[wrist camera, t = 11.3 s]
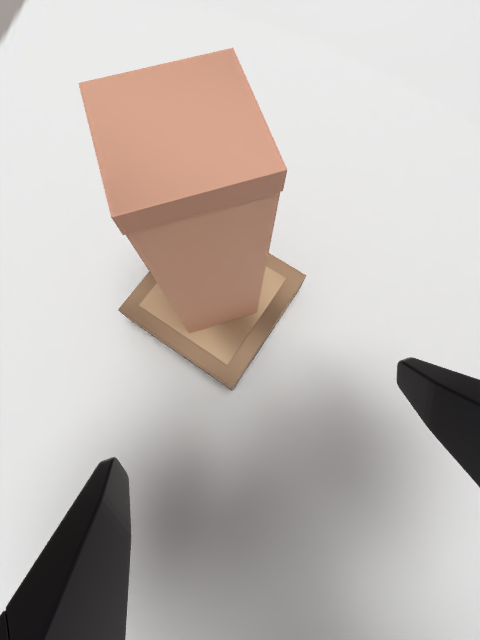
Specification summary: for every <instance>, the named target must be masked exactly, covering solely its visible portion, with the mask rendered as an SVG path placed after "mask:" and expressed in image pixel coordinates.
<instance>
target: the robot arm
mask: <svg viewBox="0 0 480 640" xmlns="http://www.w3.org/2000/svg"><path fill="white" fill-rule="evenodd" d="M397 384H398V386H399V388H400V389H401V391H402V392H403V394H404V395H405V396H406V398H407V399H408V401H409V402H410V403H411V405H412V406H413V408H414V409H415V410H416V412H417V413H418V415H419V416H420V417H421V419H422V420H423V422H424V423H425V424H426V426H427V427H428V428H429V429H430V431H431V432H432V433H433V434H434V435H435V437H436V438H437V439H438V440H439V441H440V442H441V443H442V445H443V446H444V447H445V448H446V449H447V450H448V451H449V453H450V454H451V455H452V456H453V457H454V458H455V459H456V461H457V462H458V463H459V464H460V465H461V466H462V467H463V469H464V470H465V471H466V472H467V473H468V474H469V475H470V477H471V478H472V479H473V480H474V481H475V482H476V483H477V485H478V486H479V487H480V380H479V379H476V378H473V377H470V376H467V375H464V374H461V373H458V372H455V371H452V370H449V369H446V368H443V367H440V366H437V365H434V364H431V363H428V362H425V361H422V360H419V359H416V358H411V357H410V358H406V359H404V360H401V361H399V362H398V365H397ZM130 550H131V518H130V496H129V479H128V475H127V473H126V471H125V470H124V468H123V467H122V465H121V464H120V462H119V461H118V459H117V458H115V457H113V458H110V459H107V460H104V461H101V462H100V463H99V464H98V466H97V467H96V469H95V471H94V472H93V474H92V475H91V477H90V478H89V480H88V481H87V483H86V484H85V486H84V487H83V489H82V491H81V492H80V494H79V495H78V497H77V498H76V500H75V501H74V503H73V504H72V506H71V508H70V509H69V511H68V512H67V514H66V515H65V517H64V518H63V520H62V521H61V523H60V524H59V526H58V528H57V529H56V531H55V532H54V534H53V535H52V537H51V538H50V540H49V541H48V543H47V545H46V546H45V548H44V549H43V551H42V552H41V554H40V555H39V557H38V558H37V560H36V561H35V563H34V565H33V566H32V568H31V569H30V571H29V572H28V574H27V575H26V577H25V578H24V580H23V582H22V583H21V585H20V586H19V588H18V589H17V591H16V592H15V594H14V595H13V597H12V598H11V600H10V602H9V603H8V605H7V606H6V611H3V612H2V614H1V615H0V640H125V635H126V618H127V601H128V584H129V567H130Z"/></svg>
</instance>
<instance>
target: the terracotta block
mask: <svg viewBox="0 0 480 640" xmlns="http://www.w3.org/2000/svg"><path fill="white" fill-rule="evenodd" d="M79 87H80V91H81V95H82V99H83V103H84V107H85V111H86V115H87V120H88V124H89V128H90V132H91V136H92V140H93V144H94V148H95V152H96V156H97V161H98V165H99V169H100V173H101V177H102V181H103V185H104V189H105V193H106V197H107V202H108V206H109V210H110V214H111V218H112V219H113V221H114V222H115V224H116V225H117V227H118V228H119V230H120V231H121V233H122V234H123V235H125V234H126V236H127V237H128V239H129V241H130V242H131V244H132V245H133V247H134V248H135V250H136V251H137V253H138V254H139V256H140V257H141V259H142V261H143V262H144V264H145V265H146V267H147V268H148V270H149V271H150V273H151V274H152V276H153V277H154V279H155V281H156V282H157V284H158V285H159V287H160V288H161V290H162V291H163V293H164V294H165V296H166V297H167V299H168V300H169V302H170V304H171V305H172V307H173V308H174V310H175V311H176V313H177V314H178V316H179V317H180V319H181V320H182V322H183V324H184V325H185V327H186V328H187V330H188V331H189V333H193V332H196V331H199V330H203V329H206V328H209V327H212V326H215V325H219V324H222V323H225V322H228V321H231V320H235V319H238V318H241V317H244V316H247V315H251V314H254V313H257V309H258V304H259V299H260V294H261V289H262V283H263V278H264V273H265V268H266V263H267V258H268V252H269V247H270V242H271V237H272V232H273V227H274V221H275V216H276V211H277V206H278V201H279V196H280V191H283V188H284V183H285V178H286V173H287V168H286V166H285V164H284V162H283V159H282V157H281V155H280V153H279V150H278V148H277V146H276V144H275V141H274V139H273V137H272V135H271V132H270V130H269V128H268V126H267V123H266V121H265V119H264V117H263V114H262V112H261V110H260V108H259V105H258V103H257V101H256V99H255V96H254V94H253V92H252V90H251V87H250V85H249V83H248V81H247V78H246V76H245V74H244V72H243V69H242V67H241V65H240V63H239V60H238V58H237V56H236V54H235V51H234V49H233V48H231V49H226V50H222V51H217V52H213V53H209V54H204V55H200V56H196V57H191V58H187V59H182V60H178V61H174V62H169V63H165V64H161V65H156V66H152V67H147V68H143V69H139V70H134V71H130V72H126V73H121V74H117V75H112V76H108V77H104V78H99V79H95V80H91V81H86V82H82V83H79Z"/></svg>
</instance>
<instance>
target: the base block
mask: <svg viewBox="0 0 480 640" xmlns="http://www.w3.org/2000/svg"><path fill="white" fill-rule="evenodd" d="M305 277H306V275H305V274H303V273H301V272H300V271H298V270H296V269H295V268H293V267H291V266H289V265H288V264H286V263H284V262H283V261H281V260H279V259H278V258H276V257H274V256H273V255H271V254H269V253H268V258H267V263H266V268H265V273H264V278H263V283H262V289H261V294H260V299H259V304H258V309H257V313H254V314H251V315H247V316H244V317H241V318H238V319H235V320H231V321H228V322H225V323H222V324H219V325H215V326H212V327H209V328H206V329H203V330H199V331H196V332H193V333H189V331H188V330H187V328H186V327H185V325H184V324H183V322H182V320H181V319H180V317H179V316H178V314H177V313H176V311H175V310H174V308H173V307H172V305H171V304H170V302H169V300H168V299H167V297H166V296H165V294H164V293H163V291H162V290H161V288H160V287H159V285H158V284H157V282H156V281H155V279H154V277H153V276H152V274H151V273H150V272H149V273H148V274H147V275H146V276H145V278H144V279H143V280H142V281H141V283H140V284H139V285H138V286H137V287H136V289H135V290H134V291H133V292H132V293H131V295H130V296H129V297H128V298H127V300H126V301H125V302H124V303H123V304H122V306H121V307H120V308H119V309H118V310H119V311H120V312H121V313H122V314H123V315H125V316H126V317H127V318H128V319H130V320H131V321H132V322H134V323H135V324H137V325H138V326H140V327H141V328H142V329H144V330H145V331H147V332H148V333H150V334H151V335H153V336H154V337H156V338H157V339H158V340H160V341H161V342H163V343H164V344H166V345H167V346H169V347H170V348H172V349H173V350H174V351H176V352H177V353H179V354H180V355H182V356H183V357H185V358H186V359H187V360H189V361H190V362H192V363H193V364H195V365H196V366H198V367H199V368H201V369H202V370H203V371H205V372H206V373H208V374H209V375H211V376H212V377H214V378H215V379H216V380H218V381H219V382H221V383H222V384H224V385H225V386H227V387H228V388H230V389H231V390H233V389H234V387H235V386H236V384H237V383H238V381H239V380H240V378H241V377H242V375H243V374H244V372H245V371H246V369H247V368H248V366H249V365H250V363H251V362H252V360H253V359H254V357H255V356H256V354H257V353H258V351H259V350H260V348H261V347H262V345H263V344H264V342H265V341H266V339H267V337H268V336H269V334H270V333H271V331H272V330H273V328H274V327H275V325H276V324H277V322H278V321H279V319H280V318H281V316H282V315H283V313H284V312H285V310H286V309H287V307H288V306H289V304H290V303H291V301H292V300H293V298H294V297H295V295H296V294H297V292H298V291H299V289H300V287H301V285H302V283H303V281H304V279H305Z"/></svg>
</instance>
